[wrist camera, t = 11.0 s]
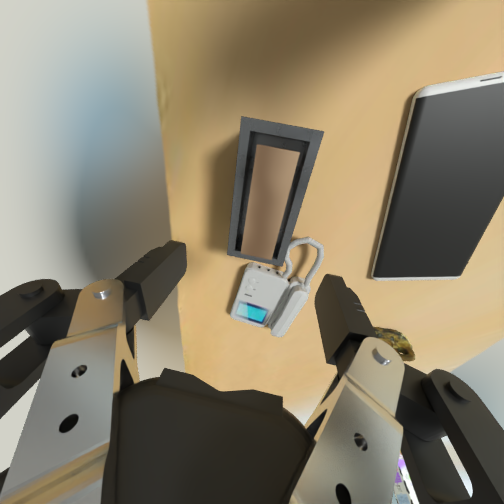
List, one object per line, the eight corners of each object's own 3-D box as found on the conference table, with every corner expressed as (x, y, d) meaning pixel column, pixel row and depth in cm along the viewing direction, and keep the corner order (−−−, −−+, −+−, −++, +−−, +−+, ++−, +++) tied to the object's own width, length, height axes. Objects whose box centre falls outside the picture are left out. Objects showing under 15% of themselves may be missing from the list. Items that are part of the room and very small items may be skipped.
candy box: (375, 439, 69) (400, 514, 55) (387, 436, 66) (416, 514, 52) (405, 450, 71) (436, 525, 56) (418, 447, 68) (454, 526, 53)
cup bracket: (311, 135, 24) (324, 131, 17) (282, 241, 32) (282, 266, 25) (252, 124, 24) (241, 116, 17) (238, 231, 32) (227, 254, 25)
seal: (335, 344, 46) (401, 349, 44) (339, 364, 43) (412, 370, 40) (341, 324, 41) (417, 328, 38) (347, 344, 37) (431, 351, 34)
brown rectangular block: (295, 151, 21) (300, 152, 16) (272, 241, 27) (271, 260, 23) (261, 144, 21) (257, 144, 16) (246, 236, 27) (240, 253, 23)
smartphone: (368, 276, 34) (372, 282, 32) (410, 90, 21) (421, 86, 19) (451, 274, 31) (460, 281, 30) (560, 62, 18) (585, 55, 17)
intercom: (343, 252, 27) (283, 342, 40) (336, 239, 31) (282, 325, 44) (260, 225, 27) (226, 324, 40) (263, 215, 30) (231, 309, 43)
